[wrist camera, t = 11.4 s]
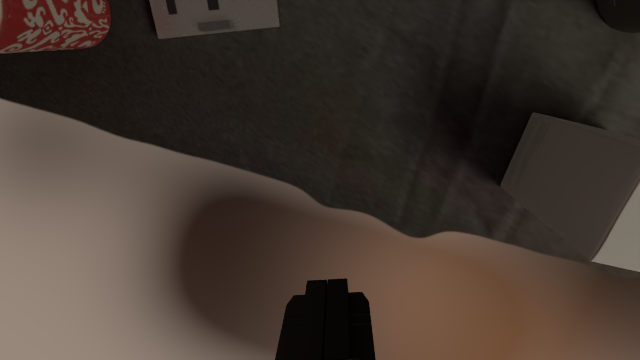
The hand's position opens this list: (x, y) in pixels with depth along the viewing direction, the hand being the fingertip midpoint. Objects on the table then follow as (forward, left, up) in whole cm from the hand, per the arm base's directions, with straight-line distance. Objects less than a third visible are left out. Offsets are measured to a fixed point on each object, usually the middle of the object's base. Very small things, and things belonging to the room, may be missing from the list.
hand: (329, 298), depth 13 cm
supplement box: (-24, +5, -27) cm, 36 cm away
